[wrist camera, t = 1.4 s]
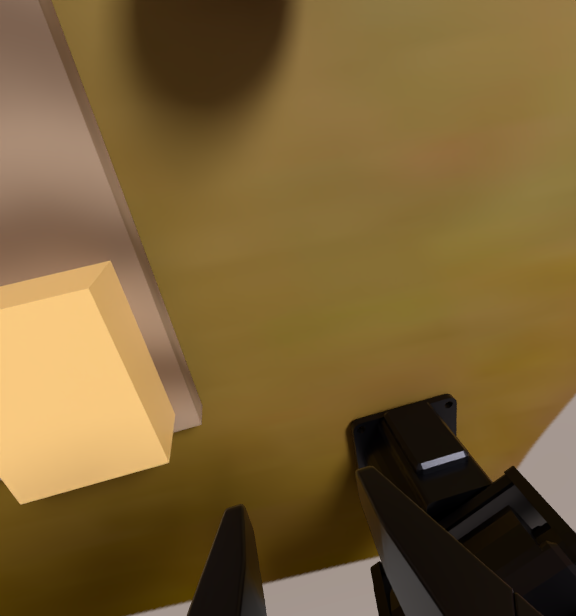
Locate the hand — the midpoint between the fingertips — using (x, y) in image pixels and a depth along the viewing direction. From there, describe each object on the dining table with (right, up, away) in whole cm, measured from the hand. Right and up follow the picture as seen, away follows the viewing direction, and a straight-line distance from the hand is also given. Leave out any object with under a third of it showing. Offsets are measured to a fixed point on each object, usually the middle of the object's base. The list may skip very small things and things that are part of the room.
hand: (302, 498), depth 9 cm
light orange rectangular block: (-9, +2, +8) cm, 12 cm away
